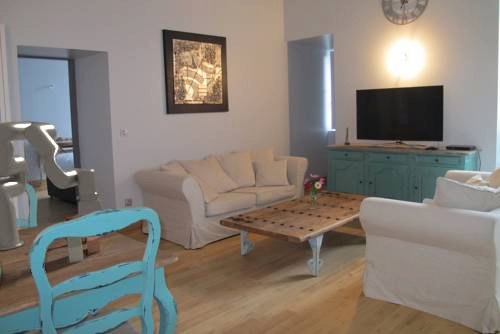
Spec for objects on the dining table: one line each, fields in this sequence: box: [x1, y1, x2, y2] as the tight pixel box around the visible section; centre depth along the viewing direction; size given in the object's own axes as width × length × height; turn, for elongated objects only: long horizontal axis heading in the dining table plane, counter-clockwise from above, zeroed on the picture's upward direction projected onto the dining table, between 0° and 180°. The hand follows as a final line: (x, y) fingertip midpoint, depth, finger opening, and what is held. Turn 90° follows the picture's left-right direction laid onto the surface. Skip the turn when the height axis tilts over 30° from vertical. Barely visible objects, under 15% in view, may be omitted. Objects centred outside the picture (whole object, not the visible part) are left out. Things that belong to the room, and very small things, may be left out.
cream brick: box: [67, 243, 84, 264], centre depth 187 cm, size 8×5×6 cm, turn 19°
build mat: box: [66, 253, 87, 264], centre depth 187 cm, size 9×7×1 cm
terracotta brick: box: [86, 235, 101, 254], centre depth 197 cm, size 8×5×6 cm, turn 19°
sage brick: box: [66, 237, 82, 249], centre depth 186 cm, size 8×5×6 cm, turn 19°
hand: (93, 236), depth 197 cm, fingers open, 9 cm apart
